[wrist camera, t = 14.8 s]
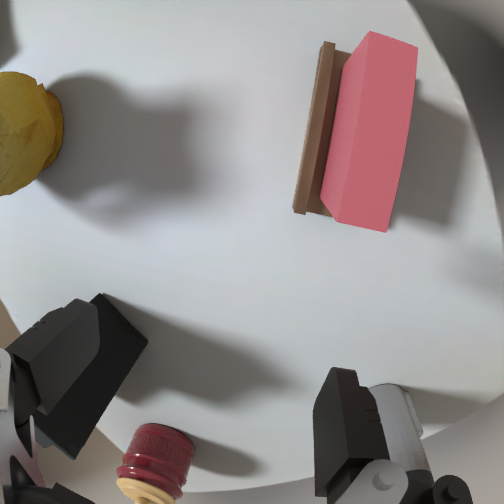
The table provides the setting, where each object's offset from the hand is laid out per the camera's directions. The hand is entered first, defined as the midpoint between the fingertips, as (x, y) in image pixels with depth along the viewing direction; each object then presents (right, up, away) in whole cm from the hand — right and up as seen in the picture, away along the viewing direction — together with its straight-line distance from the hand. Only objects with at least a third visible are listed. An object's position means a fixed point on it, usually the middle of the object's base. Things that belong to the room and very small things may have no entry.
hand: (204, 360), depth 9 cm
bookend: (-26, -13, +37) cm, 47 cm away
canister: (-16, -35, +44) cm, 58 cm away
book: (+12, +16, +21) cm, 29 cm away
